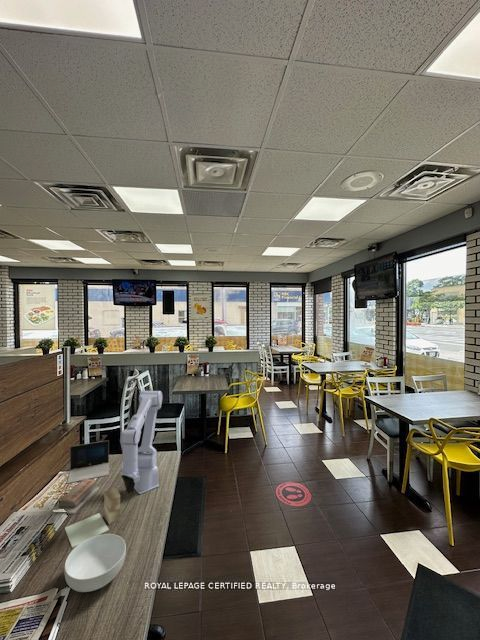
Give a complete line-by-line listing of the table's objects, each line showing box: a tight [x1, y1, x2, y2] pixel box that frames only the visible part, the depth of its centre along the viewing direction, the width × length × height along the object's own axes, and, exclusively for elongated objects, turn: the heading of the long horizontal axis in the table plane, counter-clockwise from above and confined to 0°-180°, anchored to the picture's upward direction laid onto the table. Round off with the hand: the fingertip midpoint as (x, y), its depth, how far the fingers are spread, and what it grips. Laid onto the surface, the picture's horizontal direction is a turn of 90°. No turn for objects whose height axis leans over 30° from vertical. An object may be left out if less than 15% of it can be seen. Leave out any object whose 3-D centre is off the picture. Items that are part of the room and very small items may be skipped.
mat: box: [64, 512, 110, 549], centre depth 105 cm, size 12×12×1 cm
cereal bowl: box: [63, 533, 127, 593], centre depth 86 cm, size 17×17×7 cm
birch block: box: [103, 487, 121, 525], centre depth 111 cm, size 4×6×10 cm, turn 42°
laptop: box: [66, 440, 110, 484], centre depth 143 cm, size 18×12×13 cm
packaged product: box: [51, 478, 101, 515], centre depth 123 cm, size 18×5×10 cm
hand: (129, 492), depth 116 cm, fingers closed
